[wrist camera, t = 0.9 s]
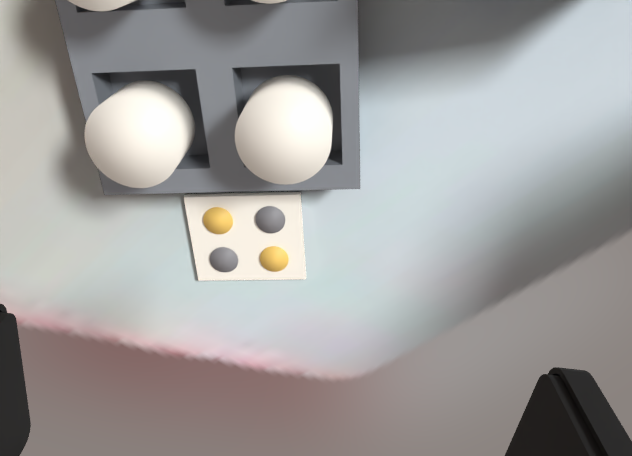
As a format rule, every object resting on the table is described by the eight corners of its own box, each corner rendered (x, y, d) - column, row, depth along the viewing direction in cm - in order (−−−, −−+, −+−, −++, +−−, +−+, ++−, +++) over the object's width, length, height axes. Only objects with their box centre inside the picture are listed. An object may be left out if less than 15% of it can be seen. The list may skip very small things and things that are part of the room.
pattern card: (300, 191, 34) (299, 195, 33) (306, 275, 36) (305, 280, 36) (185, 194, 34) (182, 198, 34) (199, 277, 37) (197, 281, 36)
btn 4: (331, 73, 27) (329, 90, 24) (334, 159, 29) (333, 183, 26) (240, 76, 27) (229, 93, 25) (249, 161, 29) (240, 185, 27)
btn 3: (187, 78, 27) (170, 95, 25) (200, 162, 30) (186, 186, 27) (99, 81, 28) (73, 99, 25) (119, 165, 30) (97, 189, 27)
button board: (354, -169, 25) (355, -179, 22) (359, 167, 33) (360, 188, 30) (49, -149, 26) (15, -156, 23) (123, 173, 34) (104, 194, 31)
